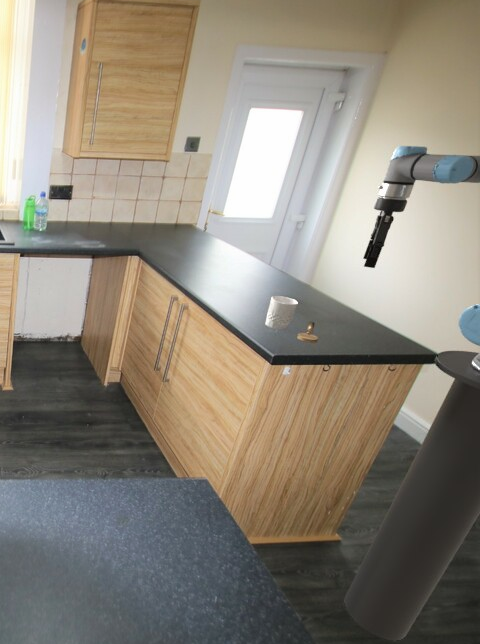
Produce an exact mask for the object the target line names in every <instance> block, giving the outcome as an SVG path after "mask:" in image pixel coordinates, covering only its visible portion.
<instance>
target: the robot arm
mask: <svg viewBox="0 0 480 644" xmlns="http://www.w3.org/2000/svg"><path fill="white" fill-rule="evenodd" d="M427 147H428V146H417V145H416V146H415V145H399V146H397V147H396V148H395V149H394V152H393V154H392V155H391V158H390V159H389V163H388V167H387V170H386V173H385V177H384V179H383V180H382V185H379V186H378V189H379V192H378V196H379V197H377V198H376V199H375V203H374V206H373V209H374V210H375V211H380V212H379V215H377V216H376V219H375V224H374V227H373V230H372V232H371V234H370V239H369V241H368V244H367V246H366V250H365V252H364V255H363V260H365V261H364V264H363V267H365V268H370V269H375V268H376V265H377V263H378V260H379V257H380V255H381V252H382V250H383V247H385V242H386V239H387V236H388V233H389V230H390V229H391V226H392V224H393V222H394V219H395V217H394V216H393V214H394V213H402V212H404V211H405V209H406V207H407V203H408V200H407V199H409V198H410V197H411V194H412V191H413V189H414V186H415V183H416V181H422V182H432V183H439V184H459V183H471V184H480V155H463V154H434V153H433V154H431V153H428V148H427ZM458 328H459V329H460V333H461V335H462V336H463V337H464V338H465V339H466V340H467V341H468V342H470V343H472V344H474V345H476V346H479V347H480V303H476V304H473V305H471V306H469V307H467V308H466V309H465V310H464V311H462V312H461V314H460V316H459V319H458ZM478 353H479V354H478V355H477V356H476V357H475V358H474V359H473V360H472V362H471V367H472V368H474V369H475V370H477V371H478V372H480V352H478Z"/></svg>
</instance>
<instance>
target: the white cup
mask: <svg viewBox="0 0 480 644" xmlns="http://www.w3.org/2000/svg"><path fill="white" fill-rule="evenodd" d="M298 304H299V302H298V301H297V300H296V299H294V298H291V297H288V296H282V295H274V296H271V299H270V302H269V306H268V309H267V313H266V319H265V323H264V325H265V326H267V328H270V329H274V330H280V331H285V330H287V329H288V327H289V324H290V322H291V321H292V318H293V316H294V314H295V312H296V308H297V306H298Z"/></svg>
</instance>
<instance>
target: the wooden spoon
mask: <svg viewBox="0 0 480 644" xmlns="http://www.w3.org/2000/svg"><path fill="white" fill-rule="evenodd" d="M307 325H308V326H307V328H306V332H299V333H298V334H297V336H296V337H297V339H298V340H300V341H302V342H305V343H310V344H316V343H318V340H319V337H318V336H316V335H314V334H313V331H314V327H315V322H314V321H309V322H308V324H307Z"/></svg>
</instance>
